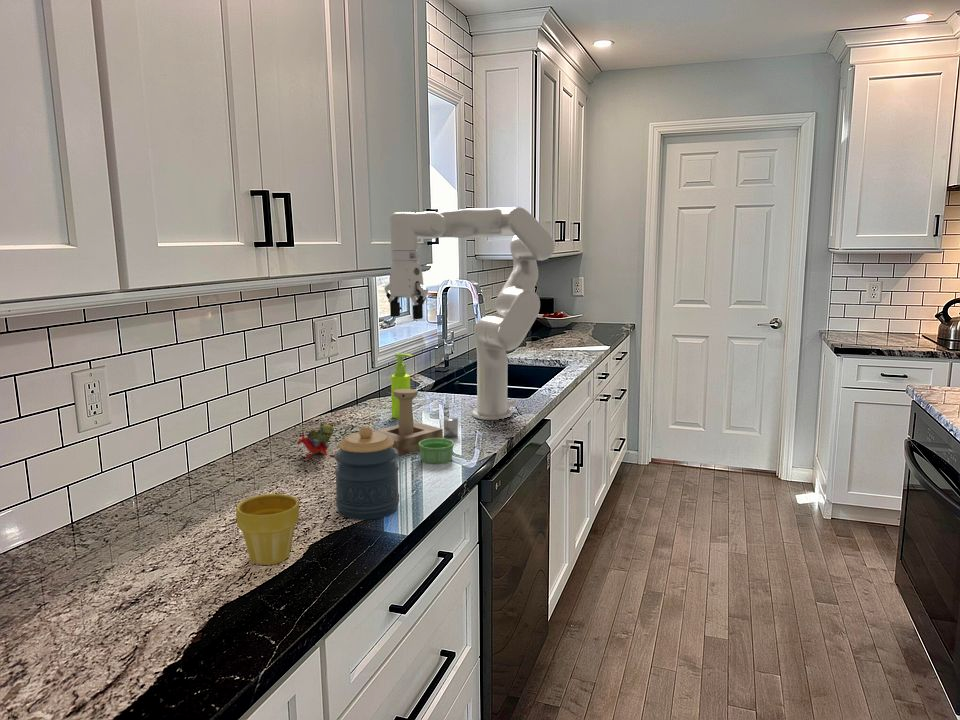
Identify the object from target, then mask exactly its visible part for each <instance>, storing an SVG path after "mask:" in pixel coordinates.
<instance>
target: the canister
mask: <svg viewBox="0 0 960 720" xmlns="http://www.w3.org/2000/svg"><path fill="white" fill-rule="evenodd" d="M372 431H373V430H372V428H371V426H369V425H363V426H362V427H361V428H359V432H354V433H350V434H348V435H346V436H345V437H344V438H343V439H341V440H340V441H338V443H337V447H338V448H339V449H338V450H337V451H336V452H335V453H334V454H333V455H334V457H333V459H334V460H335V461H336V468H335V469H334V474H335V490H336V497H335V505H336V509H337V513H338V514H339V515H341V516H342V517H345V518H348V519H349V520H350V519H353V520H361V521H362V520H363V521H367V520H376V519H380V518H384V517H387V516H389V515H392V514H394V513H395V512H396V511H398V508H399V503H400V493H399V469H400V468H399V465H398V464H397V457H399V456H398V450H397V449H395V448H394V447H392V446H393V444H394V440H393V439H392V438H390V437H388V436H387V435H385V434H383V433H380V432H372Z"/></svg>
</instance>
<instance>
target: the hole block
mask: <svg viewBox="0 0 960 720" xmlns="http://www.w3.org/2000/svg"><path fill="white" fill-rule="evenodd" d="M413 427H414V428H413V429H414V430H413V434H409V435H406V436H400V435H399V424H397V425H392V426H388V427H385V428H380V429H376V430H372V432H380V433H383V434H385V435H387V436H388V437H390V438H392V439H393V440H394V444H393V446H392V447H394V448H395V449H397V450H398V456H397V457H400V455H401V456H403V455H407V454H410V453H415V452H417V451H420V448H419V445H418V444H419V442H420V441H422V440H424V439H429V438H444V428H440V427H436V426H433V425H429V424H426V423H422V422H419V421H415V420H413Z"/></svg>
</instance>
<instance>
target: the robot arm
mask: <svg viewBox="0 0 960 720" xmlns="http://www.w3.org/2000/svg"><path fill="white" fill-rule="evenodd" d="M389 221H390V222H389V223H390V226H389V228H390V230H389V231H390V250H391V251H390V253H391V254H390V255H391V262H392V266H391V265H390V266H391V271H390V270H389V283H388V284H387V285H386V286H384V291H385V293H386V294H385V295H386V297H387V299H388V303H389V309H390V312H389V313H390V317H391V318H395V317H396V318H397V317H400V316H401V303H400V302H399V300H400V299H401V298H406V299H411V301H412V303H413V304H412V319H413V320H421V319H423V317H424V316H423V315H424V313H423V312H424V310H423V308H424V307H423V305H424V304H425V301H426V299H427V296H428V293H429V289H428V288H426V287H425V286H424V277H423V271H422V270H423V269H422V265H421V262H420V261H419V257H420V255H419V245H418V244H419V239H427V240H428V239H429V240H430V239H431V240H432V239H437V238H455V239H457V238H458V239H476V238H493V237H496V238H497V237H513V238H512V239H511V241H510V244H509V245H510V246H509V247H510V253H511V257H512V262H513V267H512V271H511V273H510V275H509V277H508V279H507V280H506V282H505V284H504V285H503V287H502V289H501V290H500V291H499V293H498V294H497V297H496V299H495V303H494V307H495V311H496V312H497V313H498V314H499V315H501V317H500V316H495V315H486V316H483V317H481V318H480V319H479V320H477V323H476V324H475V327H474V331H473V332H474V341H475V347H476V357H477V358H476V360H477V361H476V363H477V365H476V366H477V367H476V369H477V370H476V375H477V376H476V382H477V385H476V391H477V392H476V393H477V394H476V396H477V397H476V399H477V400H476V401H477V402H476V405H477V407H476V408H475V409H474V410H472V413H471V414H472V415H471V416H473V418H475V419H479V420H483V421H485V420H486V421H500V420H499V419H502V420H505V419H504V418H507V417H509V416H511V415H512V416H513V411H512V410H510V407H514V406H516V405H517V401H516V399H511V400H509V399H508V367H509V366H508V364H509V363H508V354H507V352H508V351H513V350H516V349H517V348H518V347H519V346H520V345H521V343H523V341H524V340H525V338H526V336H527V334H528V332H530V330H531V328H532V326H533V324H534V323H535V321H536V320H537V317H538V315H539V312H540V309H541V300H540V297H539V295H538V294H537V293H536V292H535V291H534V289H535V287H536V285H537V283H538V280H539V268H538V263H537V261H545V260H548V259H549V258H550V257H552V256H553V254H554V251H555V247H556V246H555V241H554V238H553V237H552V235H551V234H550V232H549V231H548V230H547V229H546V228H545V227H543V225H542V224H541V223H540V222H539V221H538V220H537V219H536V218H535V217H534V216H533V215H532V214H531V213H530V212H529V211H528V210H527V209H525V208H523V207H521V206H511V207H490V208H488V207H487V208H485V207H484V208H483V207H482V208H465V209H459V210H458V209H457V210H451V211H437V212H436V211H422V212H416V213H415V212H411V211H409V212H408V211H407V212H406V211H405V212H404V211H402V212H401V211H400V212H393V213H392V214H391V215H390V216H389ZM391 262H390V263H391ZM390 274H391V275H390ZM512 416H511V417H512ZM507 419H508V418H507Z"/></svg>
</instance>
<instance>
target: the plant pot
mask: <svg viewBox="0 0 960 720" xmlns="http://www.w3.org/2000/svg"><path fill="white" fill-rule="evenodd" d="M235 510H236V511H235V513H236V526H237V527H238V529H239V530H240V531H242V532H241V533H242V535H243V539H244V542H245V546H246V550H247V552H248V556H249V560H250V561H251V562H252V563H253V564H256V565H261V566H270V565H275V564H279V563H283V562H284V561H286V560H287V559H288V558H289V556H290V555H291V549H292V543H293V538H294V532H295V526H296V524H298V522H299V520H300V502H299V500H298V499H297V497H294V496H292V495H289V494H282V493H270V494H269V493H268V494H262V495H261V494H260V495H257V496H252V497H249V498H246V499H244V500H242V501H240V502H239V503H238V504H237V505H236V508H235Z"/></svg>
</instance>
